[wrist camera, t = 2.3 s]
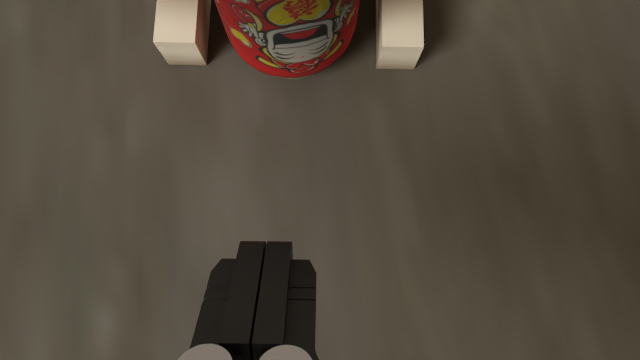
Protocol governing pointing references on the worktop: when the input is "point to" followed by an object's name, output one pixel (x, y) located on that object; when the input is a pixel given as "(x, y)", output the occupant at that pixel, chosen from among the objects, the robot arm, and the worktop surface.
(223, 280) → the robot arm
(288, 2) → the soda can
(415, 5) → the guide rails
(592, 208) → the worktop surface
